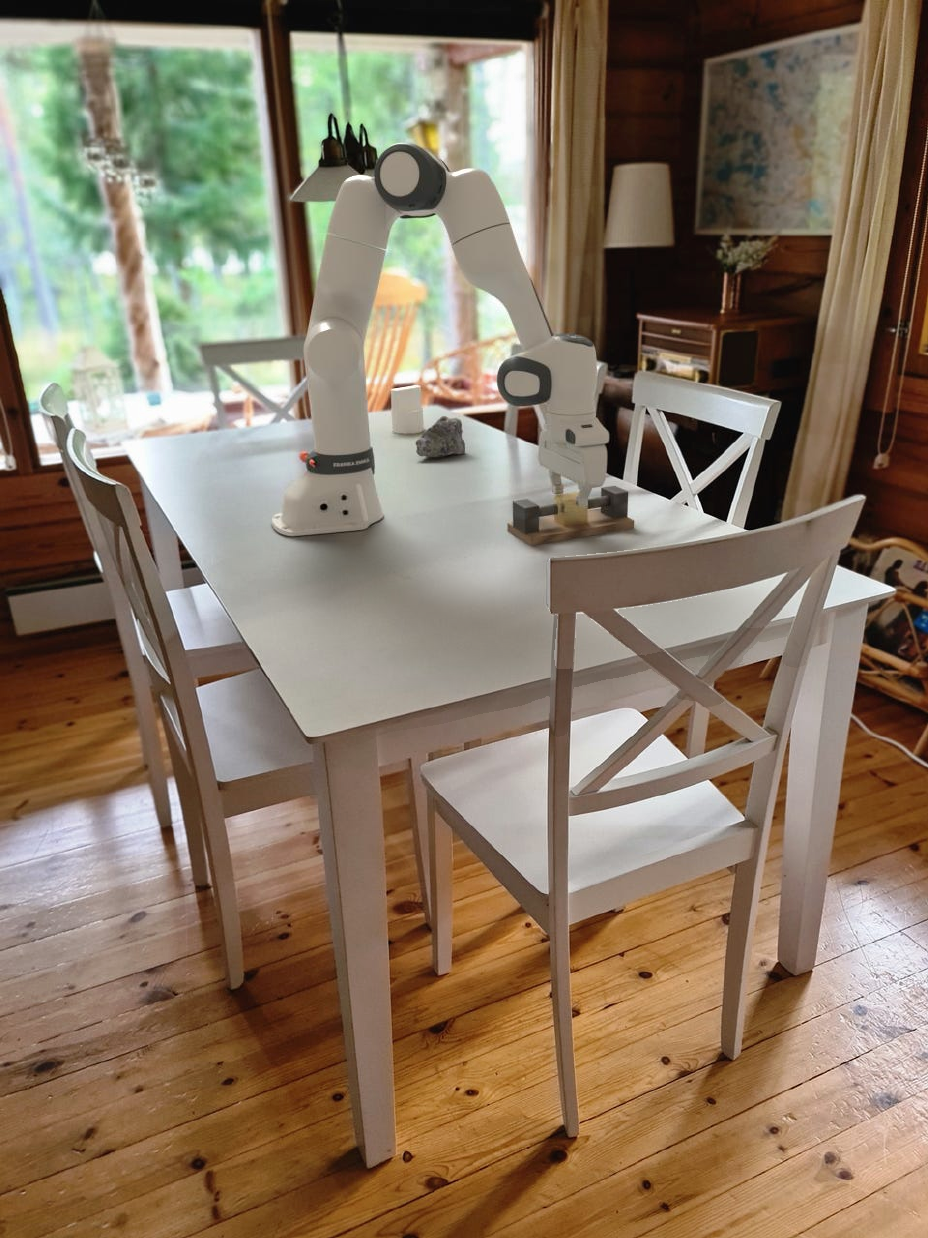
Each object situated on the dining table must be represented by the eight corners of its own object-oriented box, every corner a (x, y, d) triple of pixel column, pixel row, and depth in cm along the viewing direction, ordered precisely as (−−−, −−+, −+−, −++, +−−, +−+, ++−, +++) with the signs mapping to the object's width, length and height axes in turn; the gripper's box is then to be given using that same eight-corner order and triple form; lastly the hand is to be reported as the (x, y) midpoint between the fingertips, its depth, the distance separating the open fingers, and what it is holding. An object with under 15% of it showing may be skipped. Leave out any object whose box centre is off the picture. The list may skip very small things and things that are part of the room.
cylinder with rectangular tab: (411, 425, 271) (409, 383, 266) (430, 430, 264) (428, 387, 259) (386, 430, 266) (383, 388, 261) (404, 435, 259) (402, 391, 254)
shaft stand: (530, 545, 169) (530, 511, 166) (507, 530, 178) (507, 497, 175) (634, 527, 176) (635, 494, 174) (607, 514, 185) (608, 482, 182)
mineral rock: (416, 462, 230) (414, 421, 226) (413, 452, 240) (411, 413, 236) (468, 459, 231) (467, 419, 227) (463, 449, 241) (462, 410, 237)
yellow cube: (564, 526, 174) (564, 500, 172) (554, 520, 177) (554, 495, 175) (587, 522, 176) (588, 497, 174) (577, 517, 179) (577, 491, 177)
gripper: (530, 418, 177) (530, 488, 182) (582, 439, 159) (580, 516, 165) (559, 415, 179) (558, 484, 184) (614, 435, 161) (611, 511, 167)
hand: (569, 499), depth 174 cm, fingers open, 8 cm apart
